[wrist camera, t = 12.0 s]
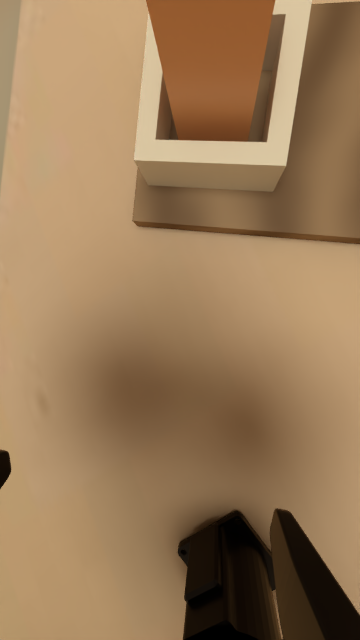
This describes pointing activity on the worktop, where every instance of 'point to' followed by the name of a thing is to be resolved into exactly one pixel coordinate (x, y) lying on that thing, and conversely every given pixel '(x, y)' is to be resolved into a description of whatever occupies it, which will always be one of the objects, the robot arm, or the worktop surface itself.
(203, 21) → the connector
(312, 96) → the board
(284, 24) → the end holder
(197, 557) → the robot arm
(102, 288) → the worktop surface
